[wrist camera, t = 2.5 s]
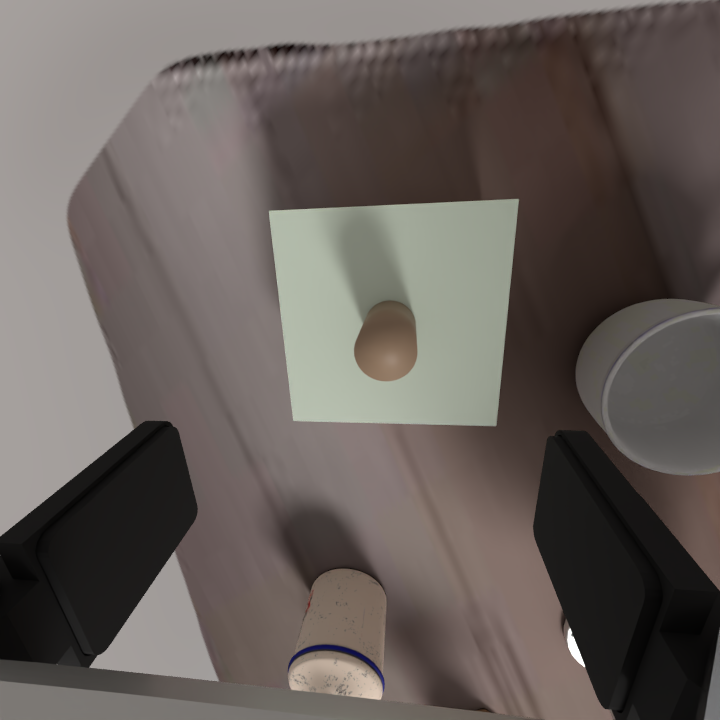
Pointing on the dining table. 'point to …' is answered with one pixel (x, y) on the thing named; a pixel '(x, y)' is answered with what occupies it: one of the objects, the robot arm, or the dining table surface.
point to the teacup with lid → (342, 637)
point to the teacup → (657, 384)
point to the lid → (395, 310)
